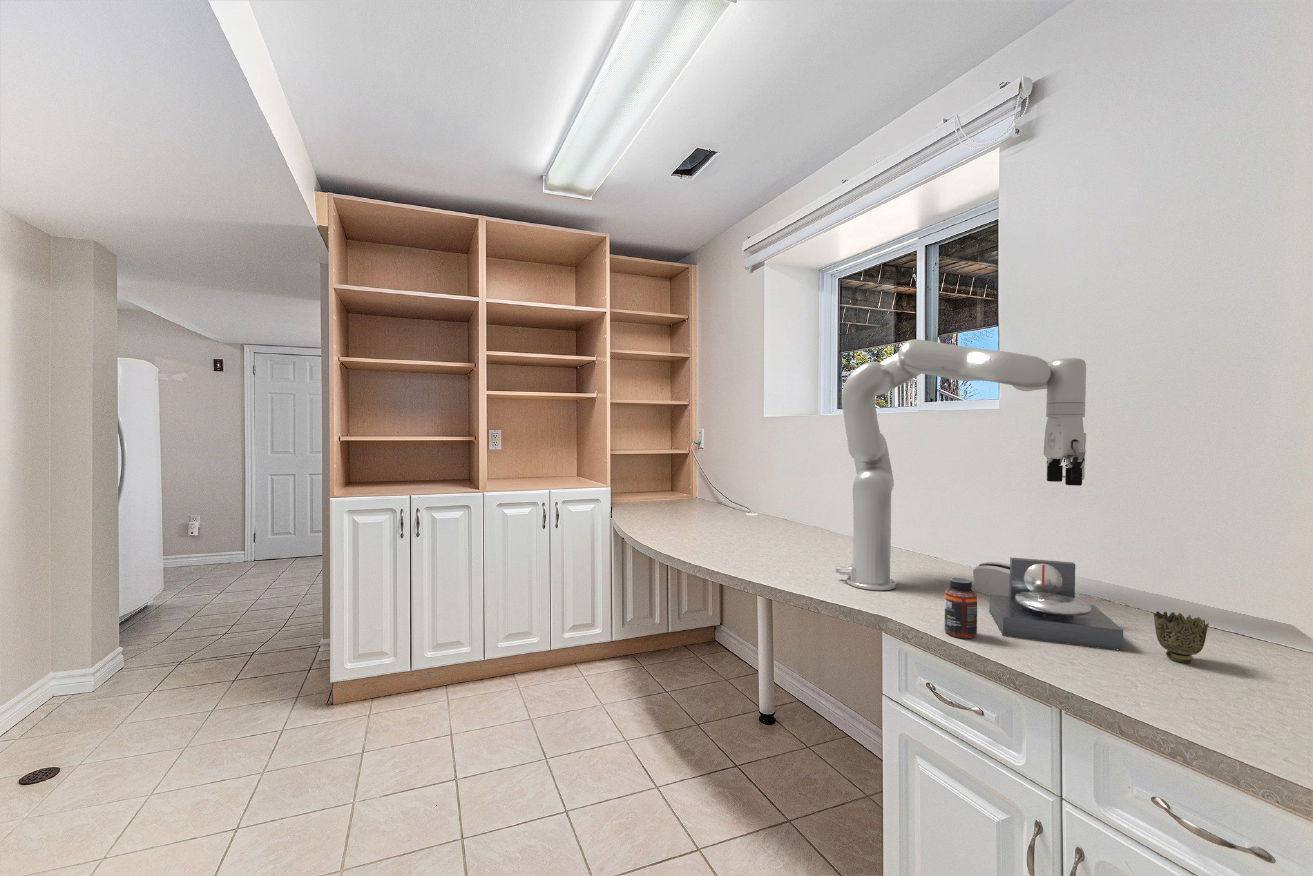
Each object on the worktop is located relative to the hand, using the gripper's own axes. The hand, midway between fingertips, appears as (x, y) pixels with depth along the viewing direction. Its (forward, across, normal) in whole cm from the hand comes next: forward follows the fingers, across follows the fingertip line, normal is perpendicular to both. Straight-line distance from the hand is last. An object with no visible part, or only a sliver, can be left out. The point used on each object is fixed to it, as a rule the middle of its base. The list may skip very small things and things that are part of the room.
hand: (1063, 483), depth 136 cm
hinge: (+30, -5, -10) cm, 32 cm away
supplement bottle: (+30, +26, -29) cm, 49 cm away
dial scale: (+30, +18, -9) cm, 36 cm away
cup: (+30, +30, +7) cm, 43 cm away
